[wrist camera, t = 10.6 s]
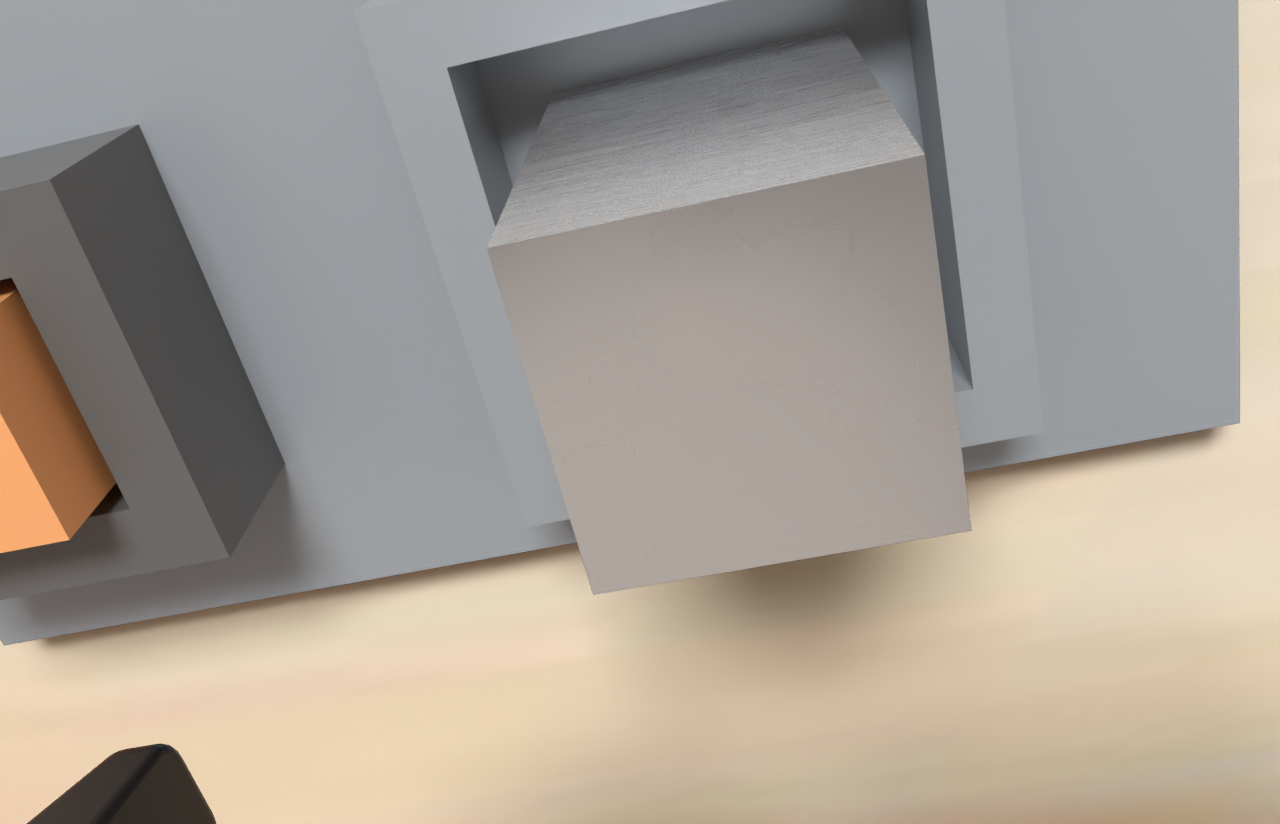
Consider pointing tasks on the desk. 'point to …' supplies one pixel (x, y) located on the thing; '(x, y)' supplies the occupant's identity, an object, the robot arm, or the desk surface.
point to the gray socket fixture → (464, 277)
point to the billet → (734, 315)
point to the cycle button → (41, 439)
